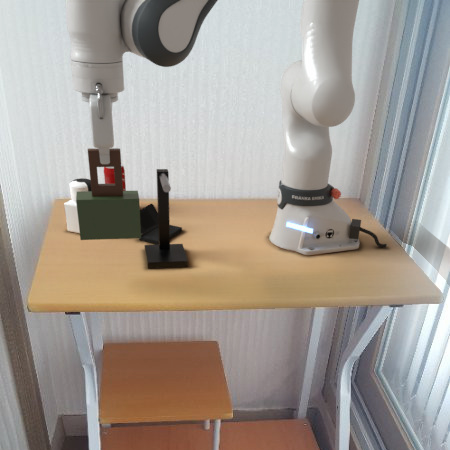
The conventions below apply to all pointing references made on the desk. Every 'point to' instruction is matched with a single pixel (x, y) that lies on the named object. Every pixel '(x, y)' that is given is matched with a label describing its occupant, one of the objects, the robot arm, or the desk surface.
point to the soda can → (113, 176)
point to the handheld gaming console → (153, 225)
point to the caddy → (108, 204)
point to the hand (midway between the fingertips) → (105, 161)
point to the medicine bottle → (71, 205)
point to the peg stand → (164, 232)
